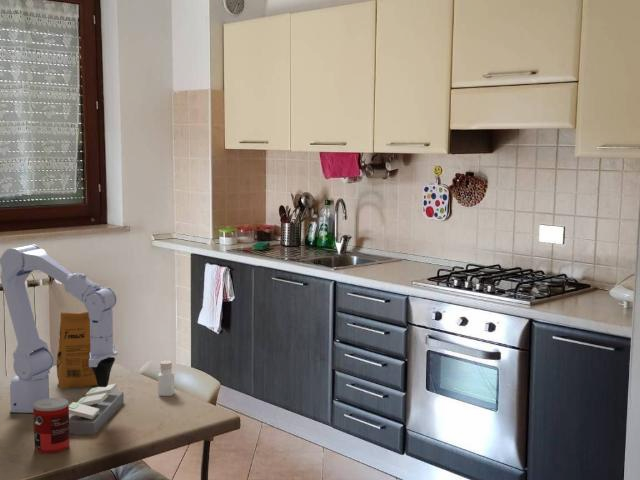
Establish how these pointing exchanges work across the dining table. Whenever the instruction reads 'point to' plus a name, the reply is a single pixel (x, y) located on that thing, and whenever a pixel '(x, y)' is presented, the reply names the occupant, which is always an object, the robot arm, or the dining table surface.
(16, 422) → the dining table surface
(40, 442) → the canned food
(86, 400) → the rocker
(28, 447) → the dining table surface
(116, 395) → the switch strip
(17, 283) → the robot arm
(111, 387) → the rocker
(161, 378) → the pepper shaker
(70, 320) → the coffee package
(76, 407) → the rocker
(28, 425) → the dining table surface
